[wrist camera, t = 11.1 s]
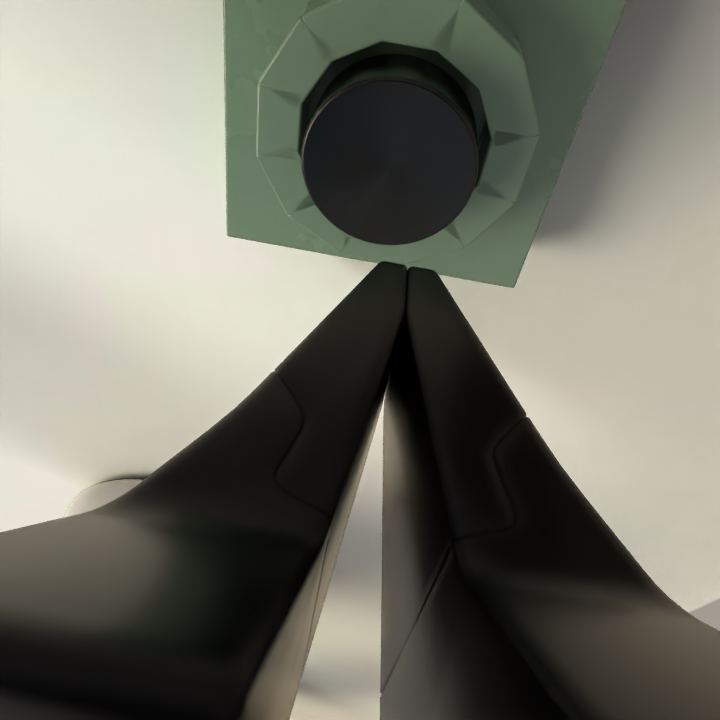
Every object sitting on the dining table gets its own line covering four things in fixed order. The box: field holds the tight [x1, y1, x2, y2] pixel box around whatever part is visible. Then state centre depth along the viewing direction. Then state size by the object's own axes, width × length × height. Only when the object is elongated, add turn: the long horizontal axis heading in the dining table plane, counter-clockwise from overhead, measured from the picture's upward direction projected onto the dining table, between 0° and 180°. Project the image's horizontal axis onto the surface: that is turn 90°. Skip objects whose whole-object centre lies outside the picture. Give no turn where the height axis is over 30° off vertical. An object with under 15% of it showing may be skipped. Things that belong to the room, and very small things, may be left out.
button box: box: [223, 0, 627, 288], centre depth 18 cm, size 10×10×4 cm
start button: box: [301, 54, 479, 245], centre depth 16 cm, size 4×4×2 cm
